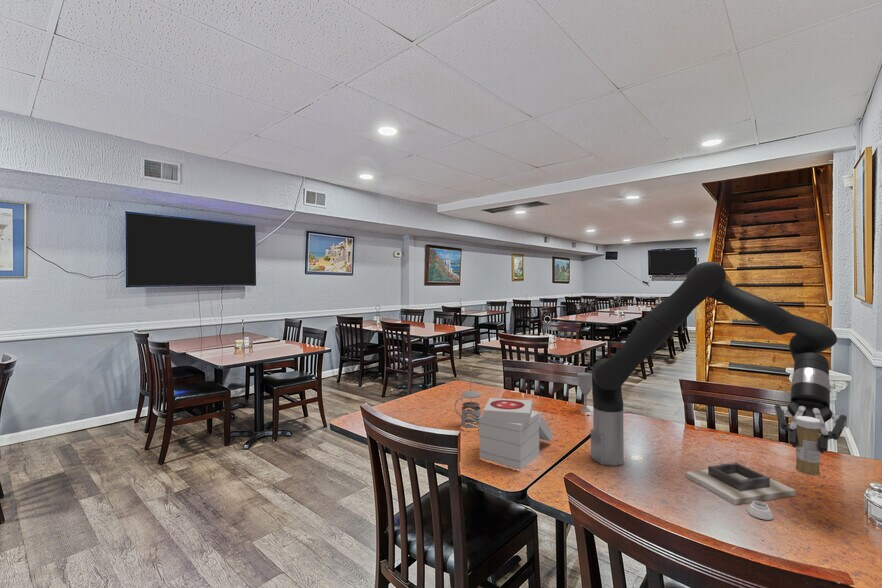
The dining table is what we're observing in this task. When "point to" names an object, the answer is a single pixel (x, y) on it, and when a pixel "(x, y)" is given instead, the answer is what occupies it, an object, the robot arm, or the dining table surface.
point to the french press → (470, 405)
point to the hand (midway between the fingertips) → (807, 448)
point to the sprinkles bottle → (808, 445)
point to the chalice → (585, 387)
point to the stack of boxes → (511, 432)
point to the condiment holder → (739, 484)
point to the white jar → (760, 510)
